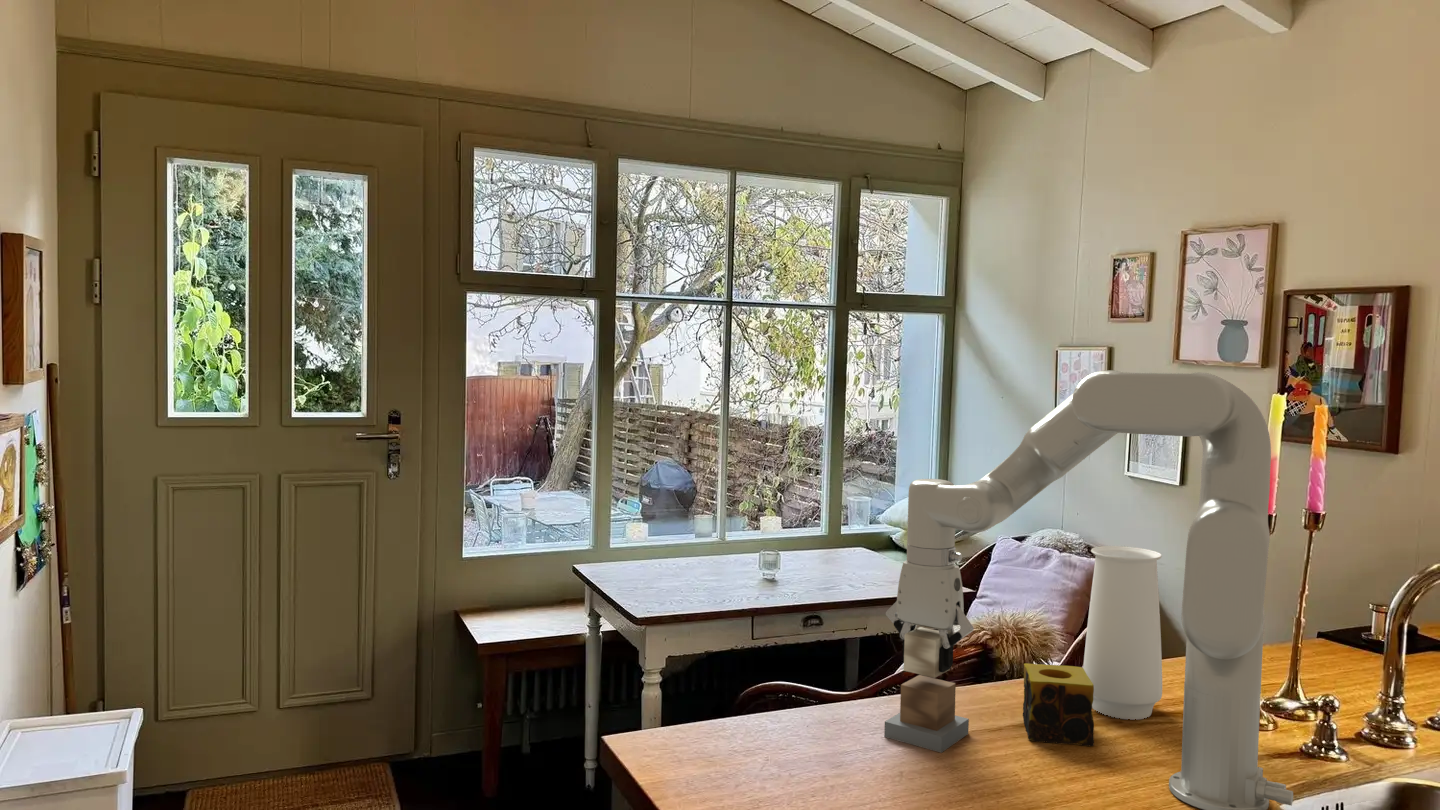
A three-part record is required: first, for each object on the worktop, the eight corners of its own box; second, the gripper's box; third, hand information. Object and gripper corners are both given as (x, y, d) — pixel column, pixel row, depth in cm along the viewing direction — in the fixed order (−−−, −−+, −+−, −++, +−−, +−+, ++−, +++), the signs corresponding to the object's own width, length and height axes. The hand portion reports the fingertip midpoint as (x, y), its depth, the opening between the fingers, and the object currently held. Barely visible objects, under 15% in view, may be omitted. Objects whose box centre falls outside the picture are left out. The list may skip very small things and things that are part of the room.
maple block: (950, 669, 159) (951, 633, 159) (934, 677, 155) (935, 640, 155) (919, 662, 163) (920, 626, 163) (903, 670, 159) (904, 634, 158)
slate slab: (968, 733, 160) (968, 718, 160) (941, 752, 153) (941, 736, 152) (913, 719, 167) (913, 704, 166) (884, 736, 159) (884, 721, 159)
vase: (1171, 725, 165) (1176, 561, 164) (1090, 720, 167) (1095, 557, 166) (1149, 699, 178) (1154, 546, 176) (1075, 694, 180) (1079, 543, 178)
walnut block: (954, 719, 160) (955, 683, 160) (936, 731, 155) (937, 693, 155) (918, 710, 164) (919, 674, 164) (900, 721, 159) (900, 684, 159)
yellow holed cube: (1094, 748, 155) (1096, 686, 155) (1028, 742, 157) (1029, 681, 157) (1083, 724, 165) (1085, 666, 165) (1021, 719, 167) (1023, 661, 167)
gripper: (990, 560, 156) (986, 672, 157) (894, 545, 166) (891, 650, 167) (970, 567, 150) (967, 683, 151) (872, 552, 160) (869, 660, 161)
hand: (927, 665), depth 159 cm, fingers closed on maple block, 5 cm apart
